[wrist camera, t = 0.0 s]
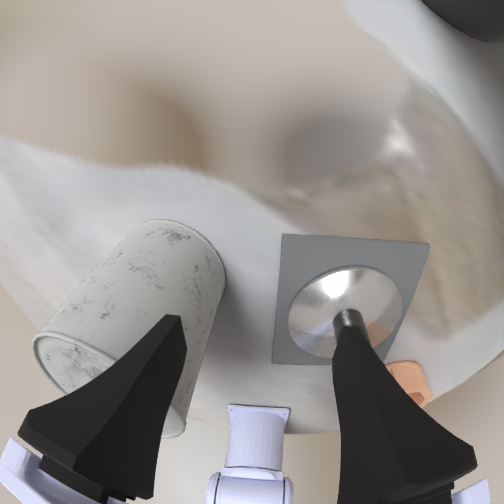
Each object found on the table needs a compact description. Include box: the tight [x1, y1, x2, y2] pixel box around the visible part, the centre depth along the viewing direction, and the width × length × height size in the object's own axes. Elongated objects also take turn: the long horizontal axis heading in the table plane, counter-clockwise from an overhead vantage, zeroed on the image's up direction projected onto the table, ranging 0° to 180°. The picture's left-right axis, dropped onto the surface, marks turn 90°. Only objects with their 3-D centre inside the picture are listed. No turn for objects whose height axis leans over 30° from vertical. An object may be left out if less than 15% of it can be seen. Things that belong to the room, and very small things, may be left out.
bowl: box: [385, 361, 433, 408], centre depth 25 cm, size 9×9×4 cm
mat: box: [272, 234, 430, 365], centre depth 22 cm, size 14×12×1 cm
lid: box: [288, 265, 402, 358], centre depth 20 cm, size 10×10×5 cm
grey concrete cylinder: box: [32, 220, 225, 438], centre depth 16 cm, size 10×10×12 cm
